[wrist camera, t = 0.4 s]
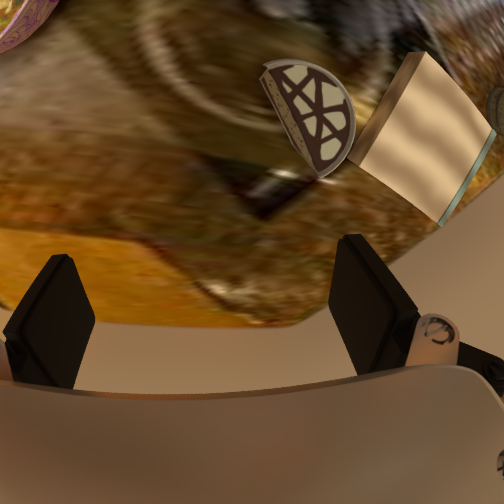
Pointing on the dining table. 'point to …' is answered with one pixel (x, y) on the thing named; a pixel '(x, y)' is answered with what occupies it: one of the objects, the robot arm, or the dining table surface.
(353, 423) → the robot arm
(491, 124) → the thermos
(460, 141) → the dock
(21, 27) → the bowl of food
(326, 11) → the dining table surface
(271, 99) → the food container
